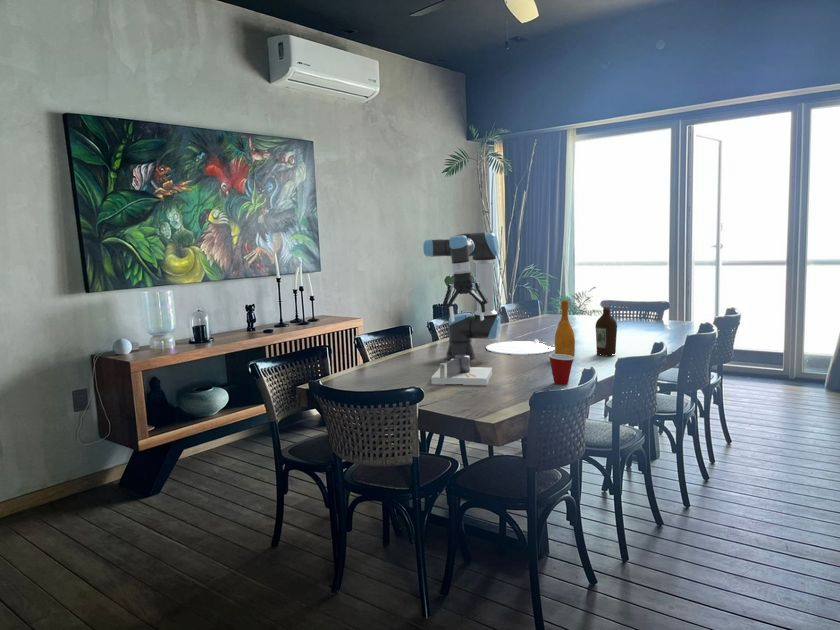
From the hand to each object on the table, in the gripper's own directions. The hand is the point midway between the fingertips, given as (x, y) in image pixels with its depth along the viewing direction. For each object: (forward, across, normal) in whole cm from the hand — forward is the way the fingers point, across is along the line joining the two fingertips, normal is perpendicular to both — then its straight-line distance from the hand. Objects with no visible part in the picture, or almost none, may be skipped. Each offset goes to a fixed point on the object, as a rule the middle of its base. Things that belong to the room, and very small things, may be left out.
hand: (467, 320), depth 265 cm
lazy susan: (+34, +1, +80) cm, 87 cm away
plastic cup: (+30, +37, +5) cm, 48 cm away
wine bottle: (+34, +30, +55) cm, 71 cm away
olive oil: (+37, +48, +73) cm, 94 cm away
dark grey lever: (+23, -7, -5) cm, 24 cm away
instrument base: (+27, -6, +2) cm, 27 cm away
